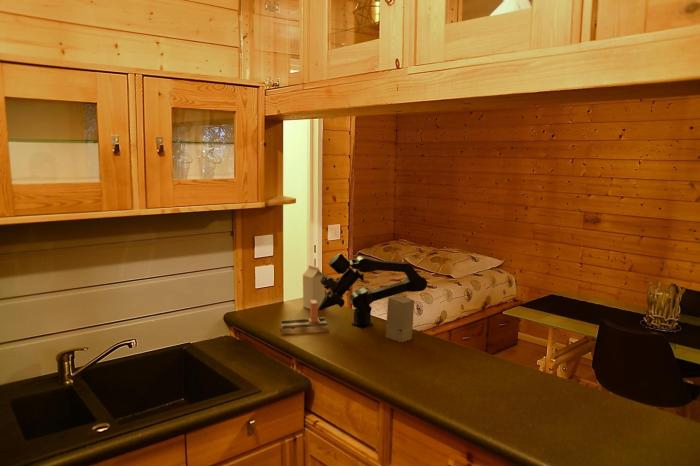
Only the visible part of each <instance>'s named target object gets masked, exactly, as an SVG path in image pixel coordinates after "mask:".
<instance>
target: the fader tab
mask: <svg viewBox="0 0 700 466" xmlns="http://www.w3.org/2000/svg"><path fill="white" fill-rule="evenodd" d="M318 310H319V309H318V303H317V301H316V300H310V309H309V312H310V313H309V315H310V316H309V317H310V318H308V321H309V323H320V321H319V318H320V317H319V311H318Z"/></svg>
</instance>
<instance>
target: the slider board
mask: <svg viewBox="0 0 700 466" xmlns="http://www.w3.org/2000/svg"><path fill="white" fill-rule="evenodd" d="M318 318H319V321H320V323H309V321H308V318H307V317H306V318H295V319H294V318H293V319H292V318H289V319H280V328H281V332H282V335H297V334H309V333H322V332H323V333H324V332H325V333H327V332H329V323H328V322H327V321H326V317H318Z"/></svg>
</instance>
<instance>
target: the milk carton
mask: <svg viewBox="0 0 700 466" xmlns="http://www.w3.org/2000/svg"><path fill="white" fill-rule="evenodd" d="M323 275H325V274H324V273H323V272H322V271H321V270H320V267H317V266H313V265H308V268H307V269H306V270H305V271H304V273H303V274H302V292H303V294H302V298H303V299H302V302H303V308H306V309H309V310H310V300H316V301H317V303H318V310H319V306H320V305H321V303H322V301H323V299H324V297H325V291H326V288H324V285H323V284H321V282H320V280H321V278H322V276H323Z"/></svg>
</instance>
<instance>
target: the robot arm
mask: <svg viewBox="0 0 700 466" xmlns="http://www.w3.org/2000/svg"><path fill="white" fill-rule="evenodd" d="M327 264H328V266H329V267H330V268H331V269H332V270H334V271H335V272H336V273H337V275H341V274H342V275H341V276H340V277H336V278H333V277H331V276H328V275H326V274H324V275H323V276H322V278H321V280H320V282H321V284H323V285H324V288H325V297H324V299H323V301H322V303H321V305H320V306H319V309H318V310H319V311H324V310H325V309H328V308H331V307H333V306H336V305H337V306H339V307H340V308H343V307H344V305H345V303H346V302H345V300H344V295H345V294H346V293H347V292H350V291H351V287H352V286H353V285H354V284H355V283H356V282H357V281H358V280H360V281H362V282H364V281H365V277H364V276H365V275H364V273H366V274H367V273H372V272H375V271H377V272H378V271H384V272H396V273H397V272H398V273H404V274H405V276H406V277H405V279H403V280H402V281H399V282H396V283H393V284H389V285H386V286H383V287H379V288H375V289H372V290H367V289H366V288H365V287H362V288H360V289H354V291H352V292H351V294H350V295H349V302H350V304H351V305H352V306H353V308H355V309H354V311H353V322H352V323H351V325H353V326H356V327H359V328H362V329H364V328H367V327H370V326H372V325H374V323H373V322H371V321H372V319H371V318H372V316H371V315H372V313H371V311H372V309H373V307H372V306H371V304H372V303H373V302H376V301H379V300H383V299H386V298H389V297H394V296H397V295H399V294H403V293H406V292H410V293H411V292H412V293H413V292H414V293H417V292H423V291H424V290H426V289H427V287H428V281H427V279H426V278H425V277H424V276H422V275H420V274H419V273H418V272H417V270H415V268H414V267H413V266H412V264H411V263H409V262H408V261H394V260H379V259H375V258H371V257H369V256H365V255H359V256H357V257H356V258H354V259H347V258H346V257H345V256H344V255H343V254H342V253H341V252H339V253H338V254H336V255H335V256H333V257H332V258H331V259H330V261H329V262H328V263H327ZM360 272H361V273H360Z"/></svg>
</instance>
